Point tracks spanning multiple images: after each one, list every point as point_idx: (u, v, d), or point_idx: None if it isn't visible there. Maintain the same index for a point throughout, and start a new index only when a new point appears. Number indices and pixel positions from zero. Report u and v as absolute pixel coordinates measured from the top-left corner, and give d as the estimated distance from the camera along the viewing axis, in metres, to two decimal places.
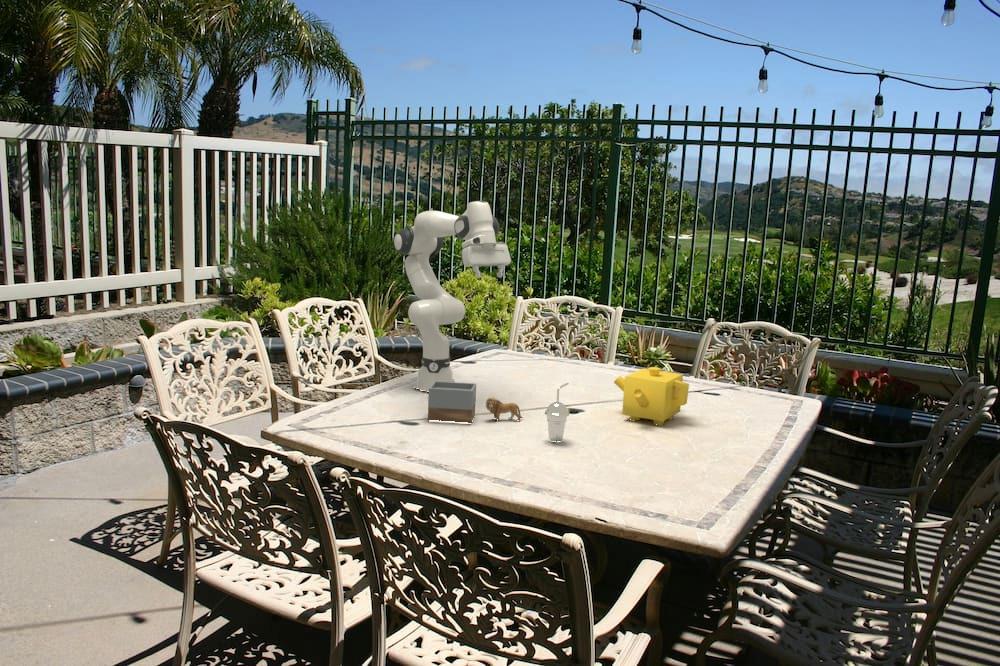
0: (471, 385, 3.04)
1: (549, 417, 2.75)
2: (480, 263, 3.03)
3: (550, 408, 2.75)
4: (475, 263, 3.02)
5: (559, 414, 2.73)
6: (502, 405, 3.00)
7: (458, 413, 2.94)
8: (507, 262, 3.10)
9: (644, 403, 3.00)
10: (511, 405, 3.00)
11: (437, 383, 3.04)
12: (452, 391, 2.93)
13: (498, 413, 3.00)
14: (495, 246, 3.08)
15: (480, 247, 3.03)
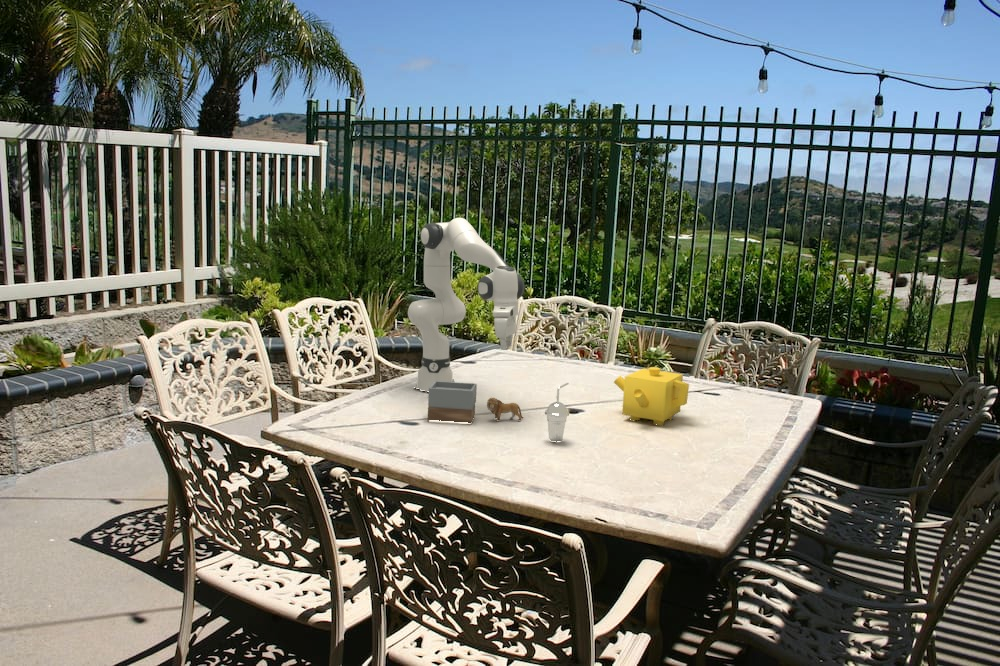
0: (471, 385, 3.04)
1: (549, 417, 2.75)
2: (508, 335, 2.92)
3: (550, 408, 2.75)
4: (506, 336, 2.90)
5: (559, 414, 2.73)
6: (503, 405, 3.00)
7: (457, 413, 2.94)
8: None
9: (644, 403, 3.00)
10: (512, 405, 3.00)
11: (437, 382, 3.05)
12: (452, 391, 2.93)
13: (499, 413, 3.00)
14: None
15: (510, 319, 2.92)
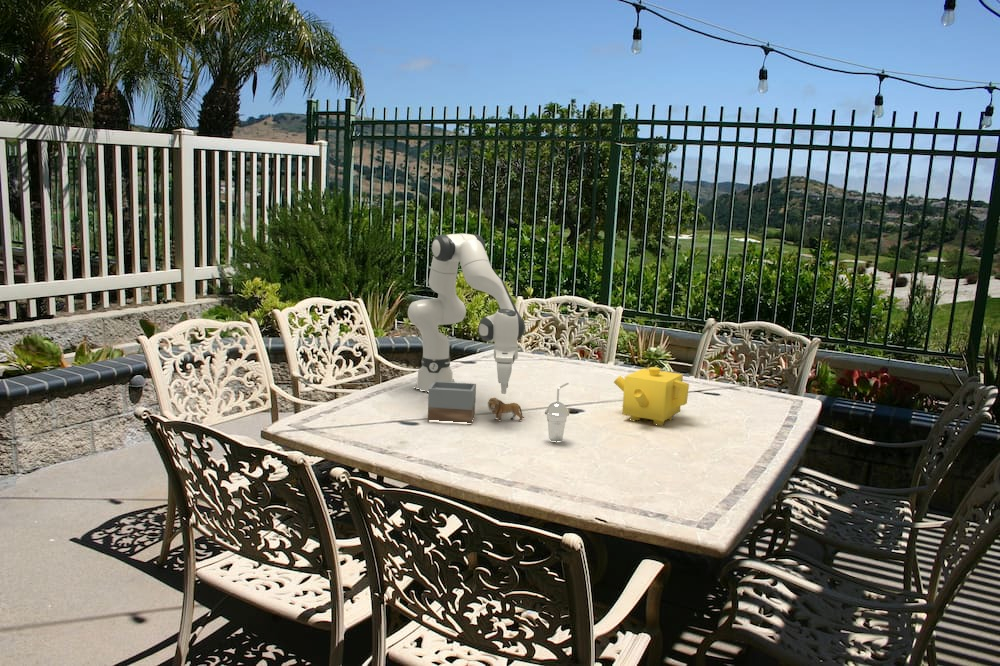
0: (471, 385, 3.04)
1: (549, 417, 2.75)
2: None
3: (550, 408, 2.75)
4: None
5: (559, 414, 2.73)
6: (504, 405, 3.00)
7: (458, 413, 2.94)
8: None
9: (644, 403, 3.00)
10: (513, 405, 3.00)
11: (436, 383, 3.04)
12: (452, 391, 2.93)
13: (500, 413, 3.00)
14: None
15: (511, 363, 2.94)
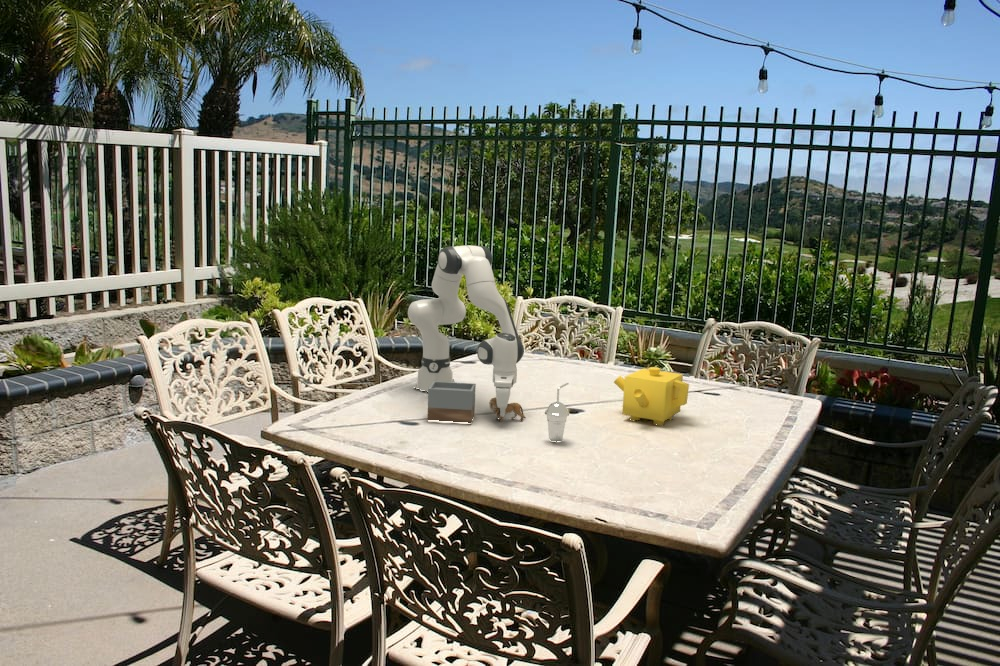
0: (470, 385, 3.03)
1: (549, 417, 2.75)
2: None
3: (550, 408, 2.75)
4: None
5: (559, 414, 2.73)
6: None
7: (457, 413, 2.94)
8: None
9: (644, 403, 3.00)
10: (514, 405, 3.00)
11: (436, 383, 3.04)
12: (452, 391, 2.93)
13: None
14: None
15: (510, 388, 2.95)
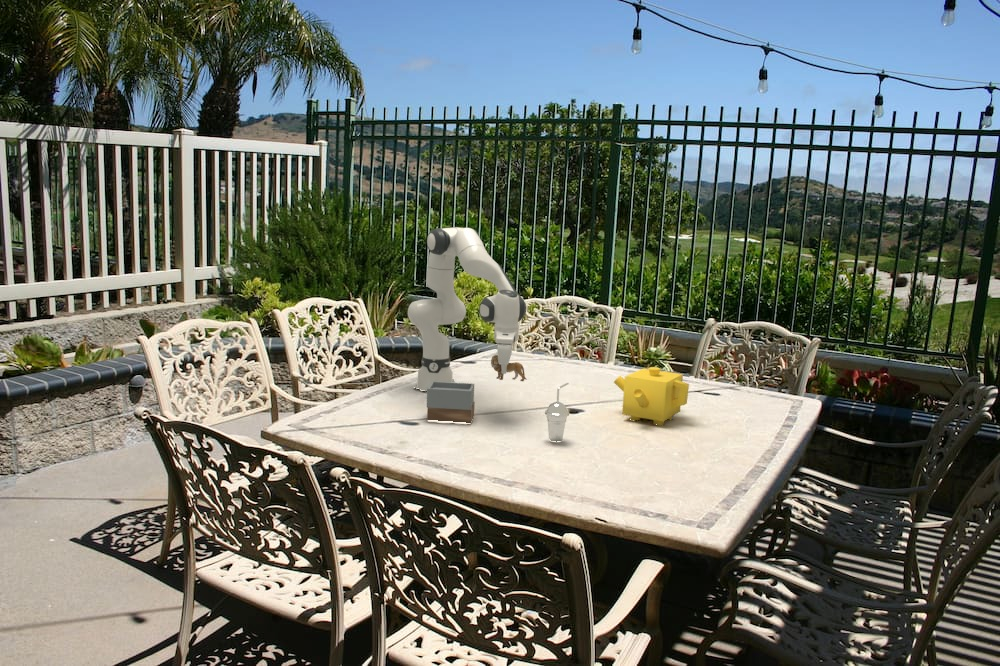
0: (469, 385, 3.03)
1: (549, 417, 2.75)
2: None
3: (550, 408, 2.75)
4: None
5: (559, 414, 2.73)
6: None
7: (457, 413, 2.94)
8: None
9: (644, 403, 3.00)
10: (516, 364, 2.98)
11: (435, 383, 3.04)
12: (451, 391, 2.93)
13: None
14: None
15: None
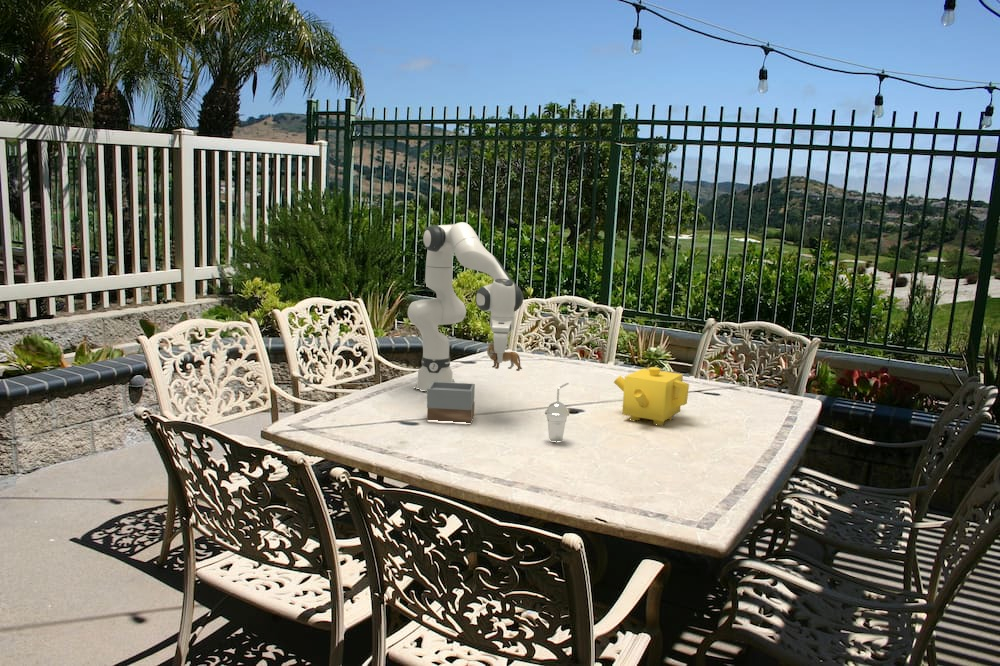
0: (469, 385, 3.03)
1: (549, 417, 2.75)
2: None
3: (550, 408, 2.75)
4: None
5: (559, 414, 2.73)
6: (503, 353, 2.97)
7: (457, 413, 2.94)
8: None
9: (644, 403, 3.00)
10: (512, 353, 2.97)
11: (435, 383, 3.04)
12: (451, 391, 2.92)
13: None
14: None
15: None
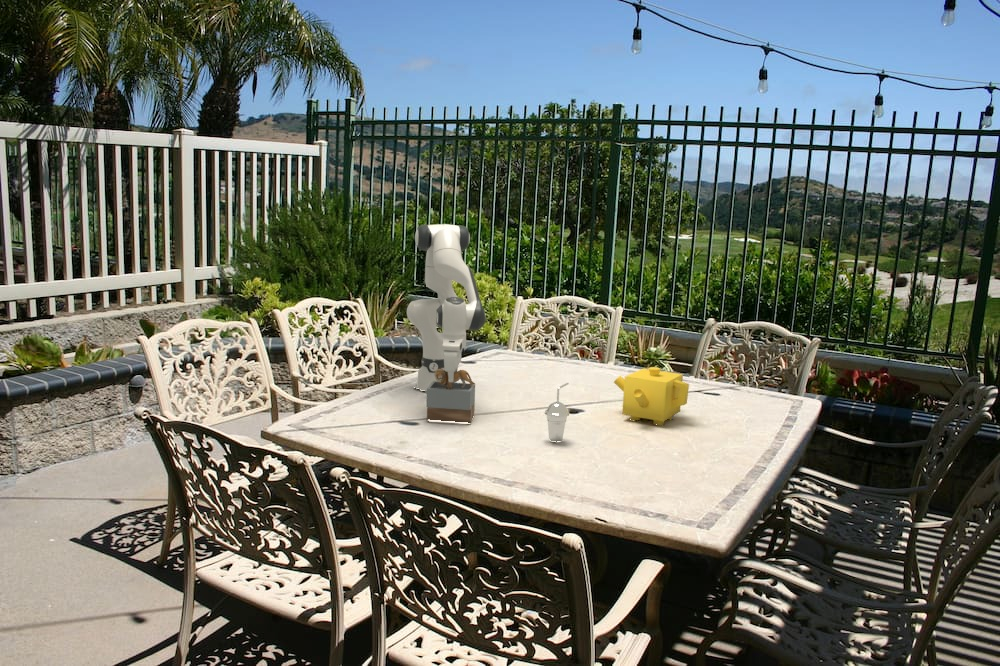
0: None
1: (549, 417, 2.75)
2: (456, 368, 2.93)
3: (550, 408, 2.75)
4: (455, 369, 2.91)
5: (559, 414, 2.73)
6: None
7: (457, 413, 2.94)
8: (460, 361, 3.05)
9: (644, 403, 3.00)
10: (460, 372, 2.97)
11: (436, 383, 3.05)
12: (450, 391, 2.93)
13: (449, 382, 2.95)
14: None
15: (459, 352, 2.92)
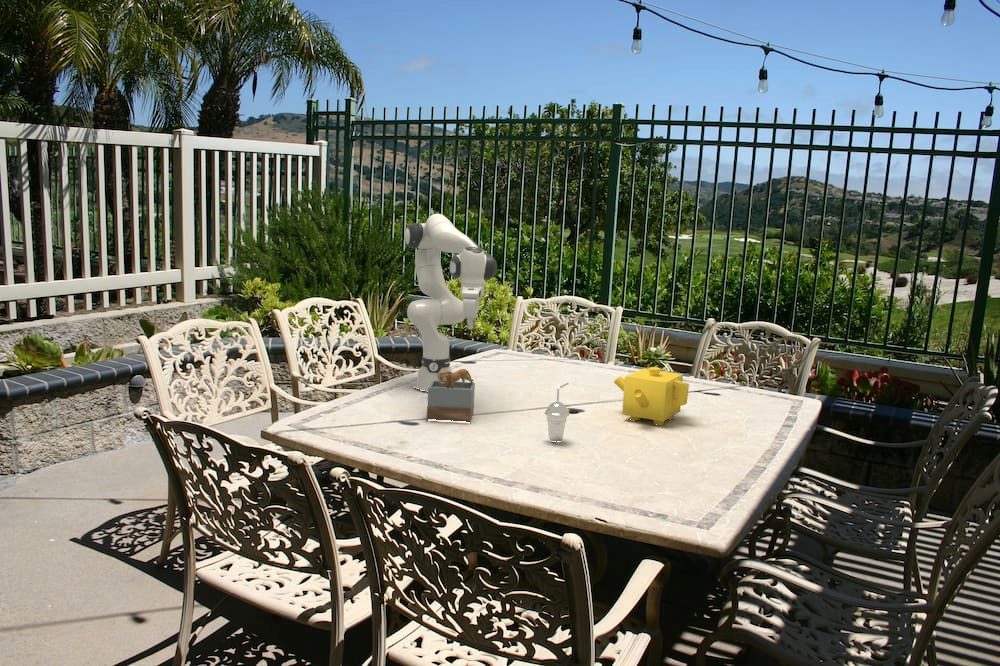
0: None
1: (549, 417, 2.75)
2: (474, 315, 3.01)
3: (550, 408, 2.75)
4: (474, 316, 2.99)
5: (559, 414, 2.73)
6: (453, 374, 2.97)
7: (456, 412, 2.95)
8: (478, 310, 3.14)
9: (644, 403, 3.00)
10: (461, 372, 2.98)
11: (435, 382, 3.06)
12: (451, 390, 2.95)
13: (452, 383, 2.97)
14: None
15: (477, 299, 3.01)
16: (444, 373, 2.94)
